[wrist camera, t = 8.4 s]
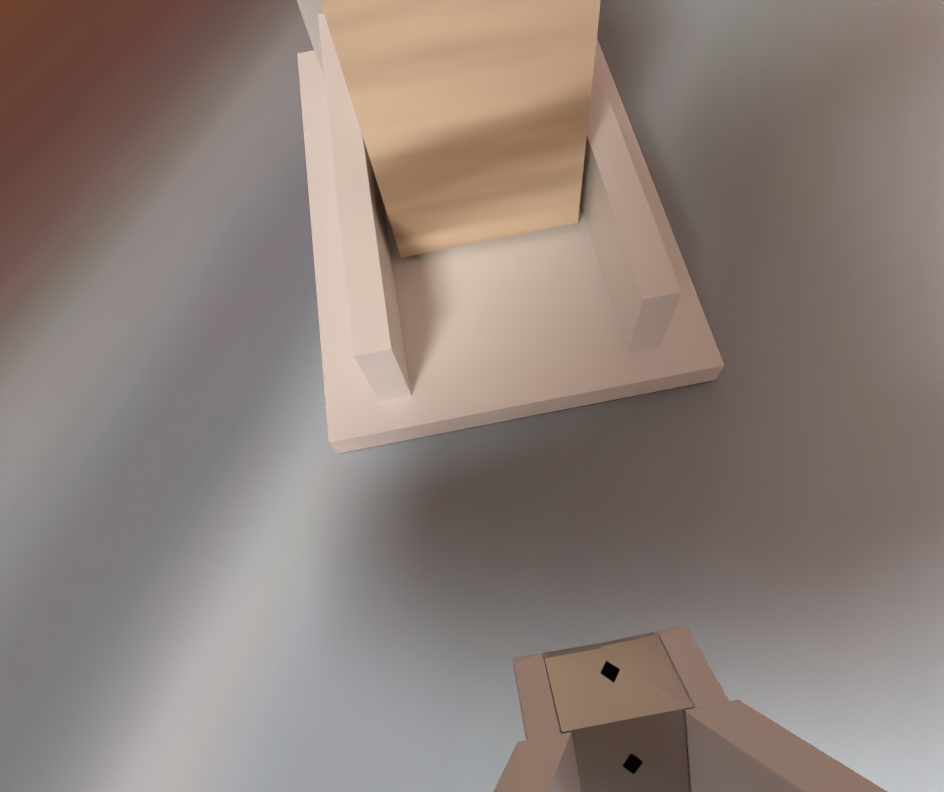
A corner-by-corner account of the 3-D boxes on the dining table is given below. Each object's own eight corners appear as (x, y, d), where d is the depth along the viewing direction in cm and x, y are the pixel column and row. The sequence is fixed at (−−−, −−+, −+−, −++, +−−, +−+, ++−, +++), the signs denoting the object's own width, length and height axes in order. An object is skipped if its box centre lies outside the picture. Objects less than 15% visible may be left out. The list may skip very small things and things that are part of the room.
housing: (715, 379, 19) (772, 289, 15) (338, 453, 19) (279, 386, 15) (579, 19, 27) (589, -115, 22) (305, 74, 27) (258, -49, 22)
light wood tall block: (581, 224, 21) (622, -143, 11) (398, 260, 21) (289, -76, 11) (546, 114, 23) (557, -271, 13) (381, 147, 23) (278, -213, 14)
